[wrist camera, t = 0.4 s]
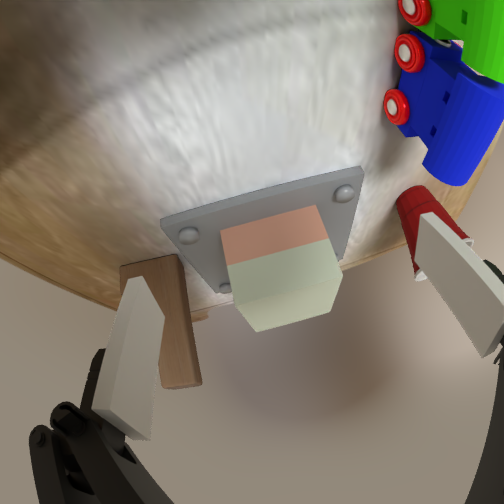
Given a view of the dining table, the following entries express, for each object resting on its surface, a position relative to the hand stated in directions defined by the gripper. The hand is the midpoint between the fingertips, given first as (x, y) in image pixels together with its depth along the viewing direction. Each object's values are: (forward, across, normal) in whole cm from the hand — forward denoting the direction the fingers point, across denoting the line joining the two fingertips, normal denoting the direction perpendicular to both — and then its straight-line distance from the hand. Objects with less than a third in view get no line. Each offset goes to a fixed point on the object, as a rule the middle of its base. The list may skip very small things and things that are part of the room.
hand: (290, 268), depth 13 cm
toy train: (+7, +16, +22) cm, 28 cm away
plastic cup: (+26, +23, -13) cm, 37 cm away
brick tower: (+26, 0, -15) cm, 30 cm away
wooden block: (+25, -18, -14) cm, 34 cm away
